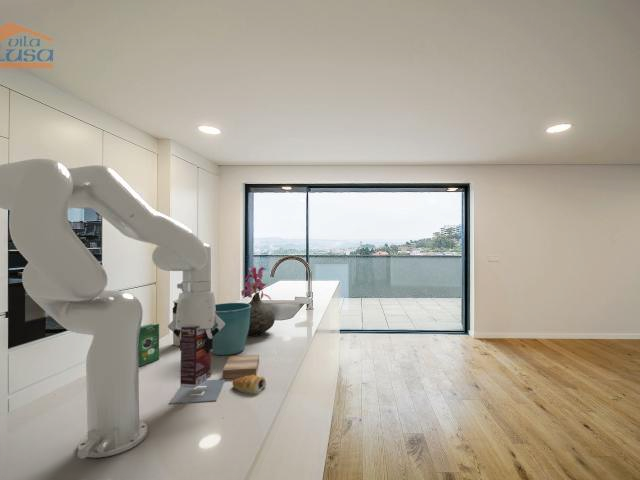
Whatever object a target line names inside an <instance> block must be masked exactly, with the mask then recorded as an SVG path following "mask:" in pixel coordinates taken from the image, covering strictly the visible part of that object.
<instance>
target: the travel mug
mask: <svg viewBox="0 0 640 480" xmlns="http://www.w3.org/2000/svg"><path fill="white" fill-rule="evenodd" d="M172 302H173V305H174V306H173V307H172V321H173V320H174V319H175V318H176V312H177V303H178V298H177V299H173V301H172ZM172 342H173V343H172V344H173V345H174V346H177V347H180V339H179V338H178V337H177V336H176V335H175V334H174V332H173V331H172Z"/></svg>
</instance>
